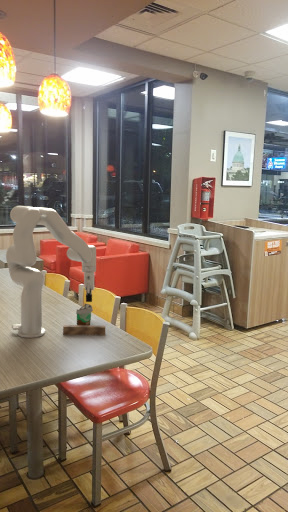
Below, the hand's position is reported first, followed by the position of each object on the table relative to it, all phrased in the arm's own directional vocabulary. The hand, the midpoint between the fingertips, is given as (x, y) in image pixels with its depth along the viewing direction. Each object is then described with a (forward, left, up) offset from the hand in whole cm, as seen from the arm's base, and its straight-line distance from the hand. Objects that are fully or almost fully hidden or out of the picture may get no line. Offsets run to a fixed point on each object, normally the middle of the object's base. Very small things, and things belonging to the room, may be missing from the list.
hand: (89, 301), depth 212 cm
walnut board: (-1, -26, -9) cm, 27 cm away
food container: (-1, -14, -9) cm, 16 cm away
